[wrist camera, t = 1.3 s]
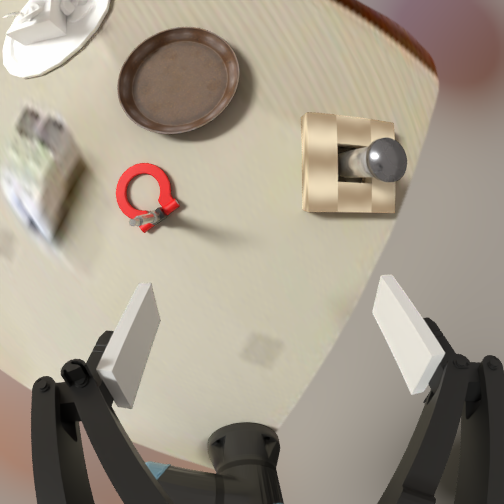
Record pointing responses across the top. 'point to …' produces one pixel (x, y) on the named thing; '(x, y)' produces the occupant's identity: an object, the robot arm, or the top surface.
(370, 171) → the steel pin
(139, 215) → the tow hook
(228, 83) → the plant saucer
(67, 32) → the dish
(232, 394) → the top surface
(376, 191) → the oak hitch block
